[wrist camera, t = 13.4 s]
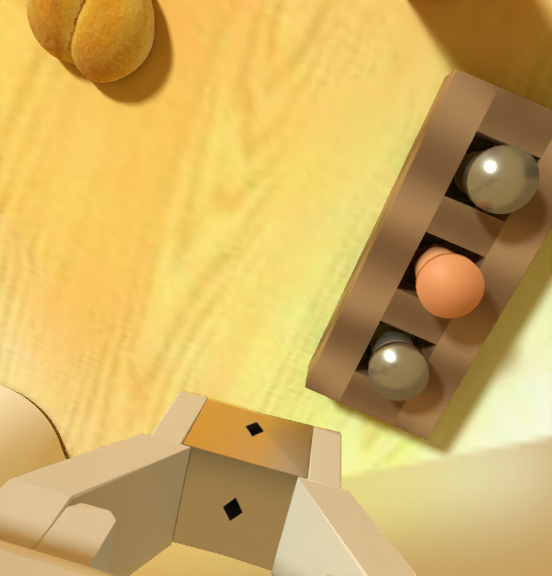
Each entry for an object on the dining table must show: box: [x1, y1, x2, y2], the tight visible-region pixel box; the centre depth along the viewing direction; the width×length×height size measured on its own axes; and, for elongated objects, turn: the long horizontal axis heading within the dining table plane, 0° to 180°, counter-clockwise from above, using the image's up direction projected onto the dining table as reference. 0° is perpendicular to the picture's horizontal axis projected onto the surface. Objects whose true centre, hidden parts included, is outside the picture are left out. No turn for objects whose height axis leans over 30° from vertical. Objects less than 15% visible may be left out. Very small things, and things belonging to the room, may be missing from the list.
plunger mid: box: [412, 243, 485, 318], centre depth 35 cm, size 4×4×6 cm
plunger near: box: [455, 145, 539, 214], centre depth 33 cm, size 4×4×6 cm
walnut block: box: [305, 69, 552, 440], centre depth 37 cm, size 24×10×4 cm, turn 158°
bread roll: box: [25, 0, 155, 83], centre depth 36 cm, size 8×9×4 cm
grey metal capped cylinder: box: [368, 322, 429, 401], centre depth 38 cm, size 4×4×6 cm
